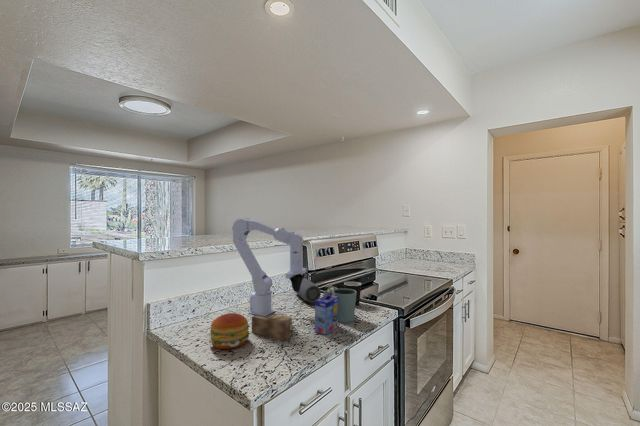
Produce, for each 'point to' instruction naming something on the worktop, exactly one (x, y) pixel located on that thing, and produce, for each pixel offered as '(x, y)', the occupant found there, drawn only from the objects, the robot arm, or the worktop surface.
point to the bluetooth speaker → (308, 291)
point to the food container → (329, 290)
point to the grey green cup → (345, 304)
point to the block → (283, 318)
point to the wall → (271, 327)
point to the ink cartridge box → (326, 314)
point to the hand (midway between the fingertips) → (296, 291)
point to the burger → (229, 331)
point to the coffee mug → (354, 286)
